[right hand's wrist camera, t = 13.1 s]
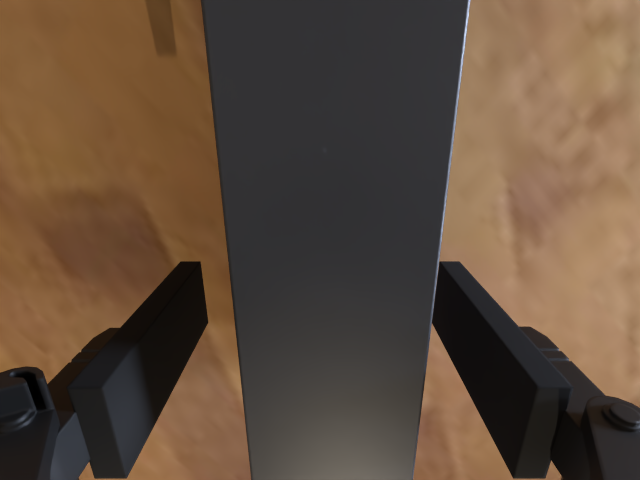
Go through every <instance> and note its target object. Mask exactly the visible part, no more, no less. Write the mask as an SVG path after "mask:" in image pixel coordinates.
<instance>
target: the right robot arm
mask: <svg viewBox="0 0 640 480" xmlns="http://www.w3.org/2000/svg"><path fill="white" fill-rule="evenodd" d="M207 324H208V317H207V309H206V301H205V294H204V286H203V278H202V270H201V262H180V263H179V264H178V265H177V266H176V267H175V268H174V269H173V271H172V272H171V273H170V274H169V275H168V276H167V277H166V278H165V279H164V280H163V282H162V283H161V284H160V285H159V286H158V287H157V288H156V289H155V290H154V291H153V293H152V294H151V295H150V296H149V297H148V298H147V299H146V300H145V301H144V302H143V304H142V305H141V306H140V307H139V308H138V309H137V310H136V311H135V312H134V313H133V315H132V316H131V317H130V318H129V319H128V320H127V321H126V322H125V323H124V324H123V325H122V327H121V328H109V329H107V330H106V331H104V332H102V333H101V334H99V335H97V336H96V337H94V338H93V339H92V340H91V341H90V342H89V343H88V344H87V345H86V346H85V347H84V348H83V349H82V350H81V352H79V353H78V354H77V355H76V356H75V357H74V358H73V359H72V362H71V363H68V364H67V365H66V366H65V367H64V368H63V369H62V370H61V371H60V372H59V373H58V374H57V375H56V376H55V377H54V378H53V379H52V380H51V381H50V382H49V383H48V384H47V382H46V379H45V376H44V373H43V371H42V370H40V369H38V368H37V367H20V368H14V369H10V370H7V371H4V372H1V373H0V480H79V478H78V477H79V476H80V474H81V473H82V471H83V470H84V468H85V467H86V465H87V464H88V462H90V465H91V468H92V471H93V474H94V478H127V477H128V475H129V473H130V471H131V469H132V467H133V465H134V463H135V461H136V460H137V458H138V456H139V454H140V452H141V450H142V448H143V446H144V444H145V442H146V440H147V438H148V437H149V435H150V433H151V431H152V429H153V427H154V425H155V423H156V421H157V419H158V417H159V416H160V414H161V412H162V410H163V408H164V406H165V404H166V402H167V400H168V398H169V396H170V394H171V393H172V391H173V389H174V387H175V385H176V383H177V381H178V379H179V377H180V375H181V373H182V372H183V370H184V368H185V366H186V364H187V362H188V360H189V358H190V356H191V354H192V352H193V350H194V349H195V347H196V345H197V343H198V341H199V339H200V337H201V335H202V333H203V331H204V329H205V328H206V326H207ZM432 324H433V326H434V328H435V329H436V331H437V333H438V335H439V337H440V339H441V341H442V343H443V345H444V347H445V349H446V350H447V352H448V354H449V356H450V358H451V360H452V362H453V364H454V366H455V368H456V370H457V372H458V373H459V375H460V377H461V379H462V381H463V383H464V385H465V387H466V389H467V391H468V393H469V394H470V396H471V398H472V400H473V402H474V404H475V406H476V408H477V410H478V412H479V414H480V416H481V417H482V419H483V421H484V423H485V425H486V427H487V429H488V431H489V433H490V435H491V437H492V438H493V440H494V442H495V444H496V446H497V448H498V450H499V452H500V454H501V456H502V458H503V460H504V461H505V463H506V465H507V467H508V469H509V471H510V473H511V475H512V477H513V478H546V475H547V471H548V468H549V465H550V462H551V460H552V462H553V463H554V465H555V466H556V468H557V469H558V471H559V472H560V474H561V475H562V478H561V480H640V408H639V407H637V406H635V405H634V404H632V403H629V402H627V401H624V400H621V399H619V398H615V397H609V396H605V395H604V394H603V393H602V392H601V391H600V390H599V389H598V388H597V387H596V386H595V385H594V384H593V383H592V382H591V381H590V380H589V379H588V378H587V377H586V376H585V375H584V374H583V373H582V372H581V371H580V370H579V369H578V368H577V366H576V365H575V364H574V363H573V362H572V361H569V358H568V357H567V356H566V355H565V354H564V353H563V352H562V351H559V348H558V347H557V346H556V345H555V344H554V343H553V342H552V341H551V340H550V339H549V338H548V337H546V336H545V335H543V334H541V333H540V332H538V331H536V330H535V329H533V328H531V327H518V325H517V324H516V323H515V322H514V321H513V320H512V319H511V318H510V317H509V316H508V314H507V313H506V312H505V311H504V310H503V309H502V308H501V307H500V306H499V305H498V304H497V302H496V301H495V300H494V299H493V298H492V297H491V296H490V295H489V294H488V293H487V291H486V290H485V289H484V288H483V287H482V286H481V285H480V284H479V283H478V282H477V280H476V279H475V278H474V277H473V276H472V275H471V274H470V273H469V272H468V271H467V269H466V268H465V267H464V266H463V265H462V264H461V263H460V262H439V270H438V278H437V286H436V294H435V301H434V309H433V317H432Z"/></svg>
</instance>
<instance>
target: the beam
mask: <svg viewBox="0 0 640 480" xmlns="http://www.w3.org/2000/svg"><path fill="white" fill-rule="evenodd" d="M201 5H202V14H203V24H204V33H205V43H206V52H207V62H208V71H209V81H210V90H211V100H212V109H213V119H214V128H215V138H216V147H217V157H218V166H219V176H220V185H221V195H222V205H223V214H224V224H225V233H226V243H227V252H228V262H229V271H230V281H231V290H232V300H233V309H234V319H235V328H236V338H237V347H238V357H239V366H240V376H241V385H242V395H243V404H244V414H245V423H246V433H247V442H248V452H249V461H250V471H251V480H413V474H414V466H415V457H416V449H417V441H418V432H419V424H420V416H421V407H422V399H423V391H424V382H425V374H426V366H427V357H428V349H429V341H430V332H431V324H432V316H433V307H434V299H435V291H436V282H437V274H438V266H439V257H440V249H441V241H442V232H443V224H444V216H445V207H446V199H447V191H448V182H449V174H450V166H451V157H452V149H453V141H454V132H455V124H456V116H457V107H458V99H459V91H460V82H461V74H462V66H463V57H464V49H465V41H466V32H467V24H468V16H469V7H470V0H201Z"/></svg>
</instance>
